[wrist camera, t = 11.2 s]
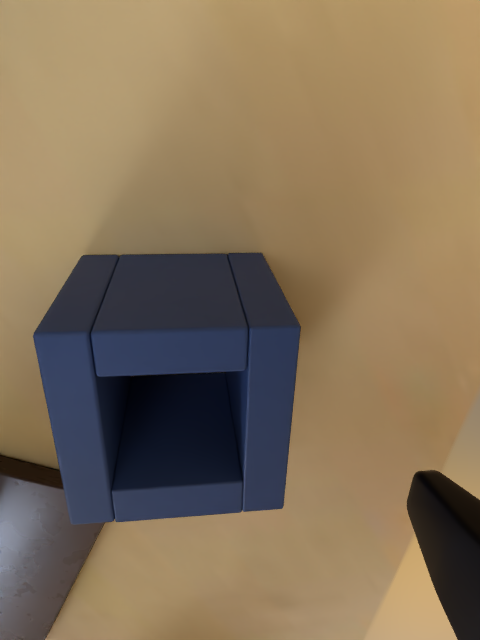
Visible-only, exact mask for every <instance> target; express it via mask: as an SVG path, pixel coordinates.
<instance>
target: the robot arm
mask: <svg viewBox="0 0 480 640" xmlns="http://www.w3.org/2000/svg"><path fill="white" fill-rule="evenodd" d="M407 510H408V514H409V517H410V520H411V523H412V526H413V529H414V531H415V534H416V537H417V540H418V543H419V545H420V548H421V551H422V554H423V557H424V560H425V563H426V565H427V568H428V571H429V574H430V577H431V580H432V582H433V585H434V588H435V590H436V593H437V595H438V597H439V600H440V602H441V604H442V606H443V609H444V611H445V613H446V615H447V617H448V620H449V622H450V624H451V626H452V628H453V630H454V632H455V634H456V637H457V639H458V640H480V500H479V499H477V498H476V497H475V496H473V495H472V494H470V493H469V492H467V491H466V490H465V489H463V488H462V487H460V486H459V485H457V484H456V483H454V482H453V481H452V480H450V479H449V478H447V477H446V476H445V475H443V474H442V473H440V472H438V471H435V470H429V471H418V472H416V473H415V474H414V477H413V480H412V484H411V487H410V491H409V495H408V499H407Z"/></svg>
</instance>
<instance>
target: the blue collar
mask: <svg viewBox="0 0 480 640" xmlns="http://www.w3.org/2000/svg"><path fill="white" fill-rule="evenodd" d="M300 329H301V327H300V324H299V322H298V321H297V319H296V317H295V315H294V313H293V311H292V309H291V307H290V305H289V303H288V301H287V300H286V298H285V296H284V294H283V292H282V290H281V288H280V286H279V284H278V282H277V281H276V279H275V277H274V275H273V273H272V271H271V269H270V267H269V265H268V263H267V261H266V260H265V258H264V256H263V254H262V253H229V254H228V255H226V254H152V255H121V256H120V258H119V256H117V255H83V256H81V258H80V260H79V261H78V263H77V265H76V266H75V268H74V269H73V271H72V273H71V274H70V276H69V277H68V279H67V281H66V282H65V284H64V285H63V287H62V289H61V290H60V292H59V294H58V295H57V297H56V298H55V300H54V302H53V303H52V305H51V306H50V308H49V310H48V311H47V313H46V315H45V316H44V318H43V319H42V321H41V323H40V324H39V326H38V327H37V329H36V331H35V332H34V335H33V338H34V343H35V348H36V353H37V358H38V363H39V368H40V373H41V378H42V383H43V388H44V393H45V398H46V403H47V408H48V413H49V418H50V423H51V428H52V433H53V438H54V443H55V448H56V453H57V458H58V463H59V468H60V473H61V478H62V483H63V488H64V493H65V498H66V503H67V508H68V513H69V518H70V522H71V524H73V525H77V524H89V523H102V522H112V521H114V519H115V520H116V522H125V521H138V520H151V519H163V518H176V517H188V516H201V515H214V514H226V513H239V512H241V511H242V510H243V511H244V512H247V511H260V510H272V509H282V508H283V506H284V495H285V485H286V474H287V464H288V454H289V443H290V433H291V422H292V412H293V402H294V391H295V381H296V370H297V360H298V350H299V339H300ZM205 372H226V374H225V373H206V374H182V375H159V376H135V377H131V376H134V375H158V374H181V373H205Z"/></svg>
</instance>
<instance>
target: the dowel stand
mask: <svg viewBox="0 0 480 640" xmlns="http://www.w3.org/2000/svg"><path fill="white" fill-rule="evenodd" d="M104 523H105V522H102V523H89V524H77V525H73V524H71V522H70V518H69V513H68V508H67V503H66V498H65V493H64V488H63V483H62V478H61V473H60V471H58V470H54V469H50V468H46V467H42V466H38V465H34V464H30V463H27V462H23V461H19V460H15V459H11V458H7V457H3V456H0V640H45V639H46V637H47V635H48V633H49V631H50V629H51V627H52V625H53V623H54V621H55V619H56V617H57V615H58V613H59V611H60V609H61V607H62V605H63V604H64V602H65V600H66V598H67V596H68V594H69V592H70V590H71V588H72V586H73V584H74V582H75V580H76V578H77V576H78V574H79V572H80V570H81V568H82V566H83V564H84V562H85V560H86V558H87V556H88V554H89V552H90V551H91V549H92V547H93V545H94V543H95V541H96V539H97V537H98V535H99V533H100V531H101V529H102V527H103V525H104Z"/></svg>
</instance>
